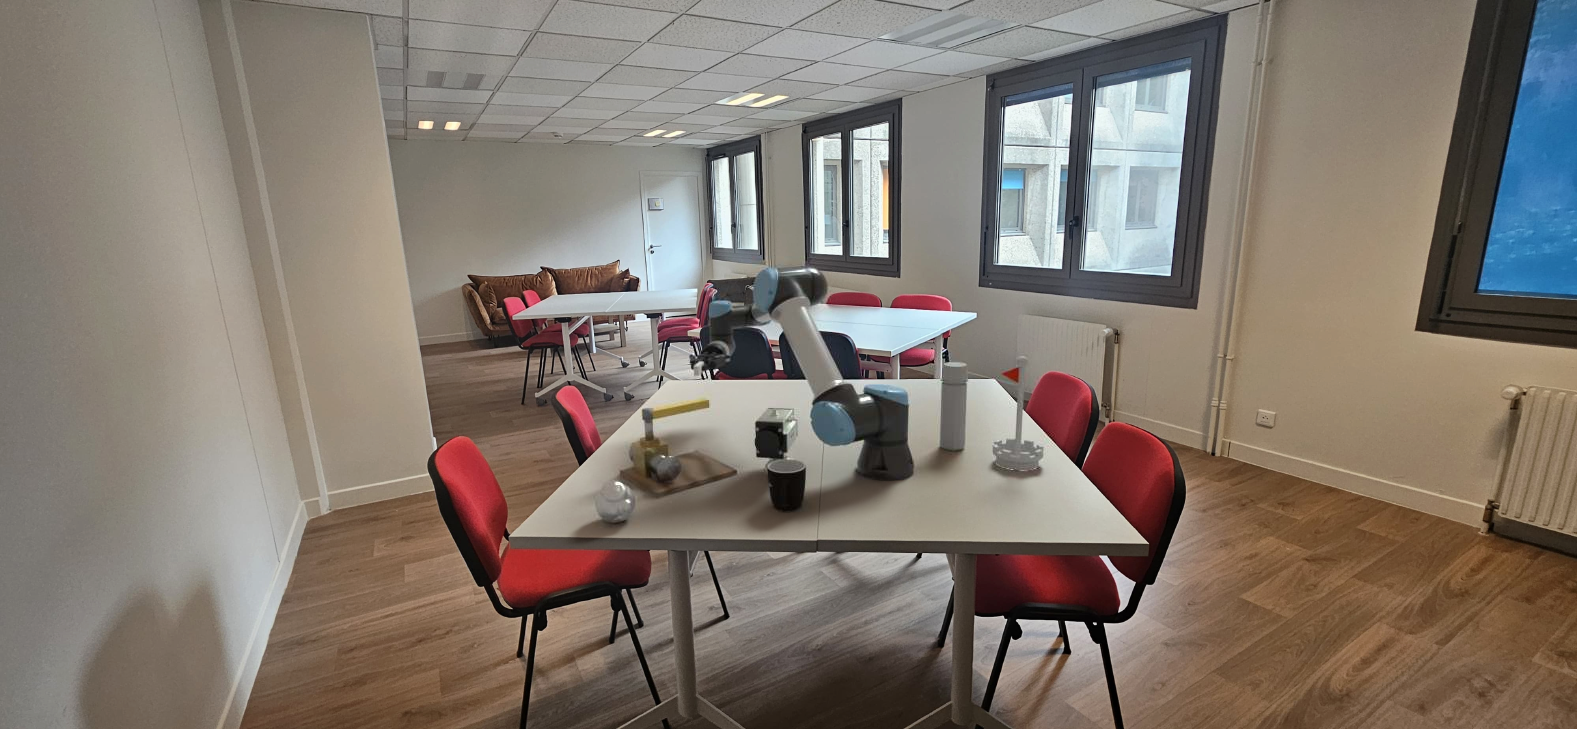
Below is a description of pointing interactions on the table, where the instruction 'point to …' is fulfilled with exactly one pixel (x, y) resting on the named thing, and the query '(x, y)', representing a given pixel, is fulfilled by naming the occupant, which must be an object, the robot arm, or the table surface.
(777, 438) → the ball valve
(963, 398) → the water bottle
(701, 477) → the walnut board
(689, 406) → the valve lever
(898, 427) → the robot arm
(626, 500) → the round lidded jar
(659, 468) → the valve body
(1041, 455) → the flag stand
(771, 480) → the mug
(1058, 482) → the table surface
